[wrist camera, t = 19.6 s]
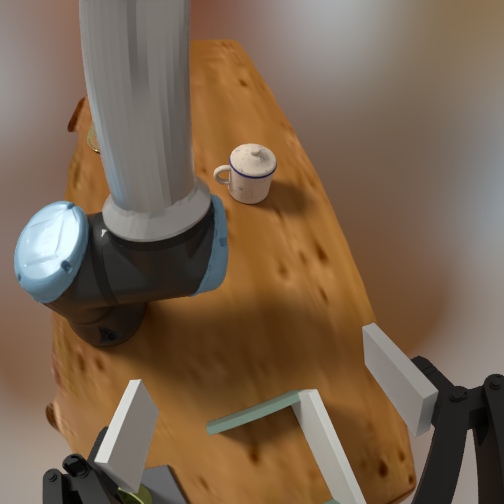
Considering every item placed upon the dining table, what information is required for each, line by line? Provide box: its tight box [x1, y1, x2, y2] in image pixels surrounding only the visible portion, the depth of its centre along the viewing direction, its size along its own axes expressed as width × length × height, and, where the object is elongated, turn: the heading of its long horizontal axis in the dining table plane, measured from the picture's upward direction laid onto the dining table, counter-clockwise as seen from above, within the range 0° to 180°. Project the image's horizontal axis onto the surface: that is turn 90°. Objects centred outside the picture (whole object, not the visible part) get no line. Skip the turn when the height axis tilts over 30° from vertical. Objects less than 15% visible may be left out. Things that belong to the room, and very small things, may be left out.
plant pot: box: [117, 484, 152, 504], centre depth 26 cm, size 9×9×9 cm
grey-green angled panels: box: [206, 389, 366, 504], centre depth 31 cm, size 15×24×12 cm, turn 22°
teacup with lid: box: [214, 144, 277, 204], centre depth 55 cm, size 12×9×12 cm
